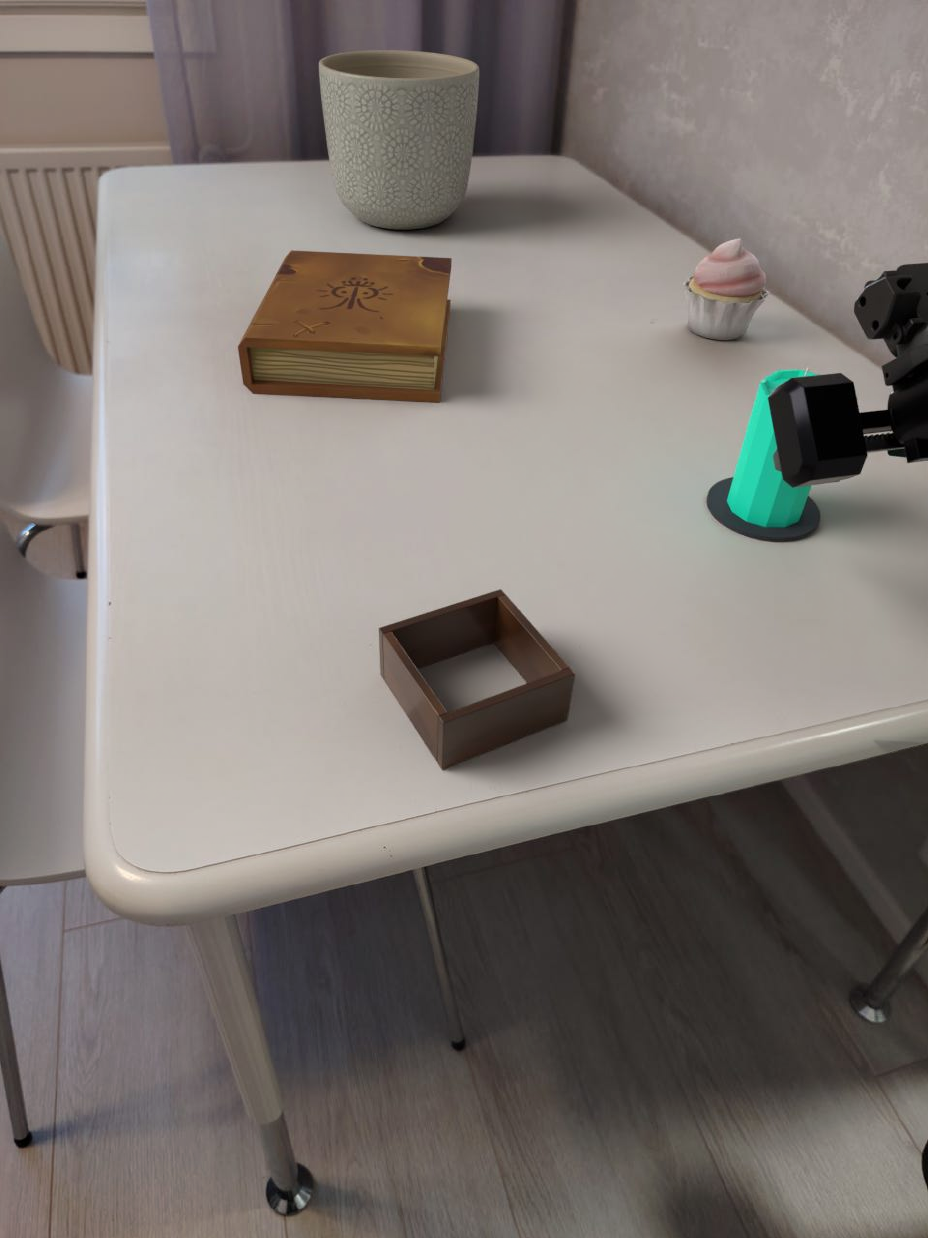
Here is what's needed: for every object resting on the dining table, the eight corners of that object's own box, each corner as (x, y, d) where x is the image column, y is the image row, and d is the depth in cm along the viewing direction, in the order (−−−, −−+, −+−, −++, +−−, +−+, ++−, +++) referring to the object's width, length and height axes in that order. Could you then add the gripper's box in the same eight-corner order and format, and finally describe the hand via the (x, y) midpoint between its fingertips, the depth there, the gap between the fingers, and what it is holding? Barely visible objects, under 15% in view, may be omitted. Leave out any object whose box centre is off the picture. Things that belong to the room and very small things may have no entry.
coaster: (843, 524, 69) (844, 520, 69) (759, 553, 66) (760, 549, 66) (764, 470, 75) (765, 466, 75) (683, 494, 72) (684, 490, 72)
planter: (298, 221, 122) (284, 63, 109) (384, 188, 135) (381, 44, 123) (421, 252, 114) (421, 85, 101) (499, 214, 128) (508, 63, 115)
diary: (289, 301, 100) (284, 249, 96) (450, 309, 100) (451, 257, 96) (244, 393, 83) (236, 334, 79) (439, 402, 83) (440, 344, 79)
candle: (775, 482, 73) (818, 346, 65) (817, 521, 69) (869, 381, 61) (713, 491, 72) (749, 354, 64) (752, 532, 67) (796, 390, 59)
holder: (567, 720, 52) (575, 673, 50) (441, 770, 49) (443, 723, 47) (497, 634, 58) (501, 588, 55) (380, 674, 55) (378, 627, 52)
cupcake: (760, 351, 94) (786, 257, 87) (674, 341, 95) (693, 247, 89) (756, 318, 101) (780, 229, 94) (675, 309, 102) (693, 220, 96)
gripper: (1125, 222, 49) (922, 335, 64) (837, 239, 44) (694, 355, 60) (1165, 415, 48) (951, 482, 63) (877, 451, 44) (723, 513, 59)
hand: (833, 455), depth 61 cm, fingers open, 9 cm apart
